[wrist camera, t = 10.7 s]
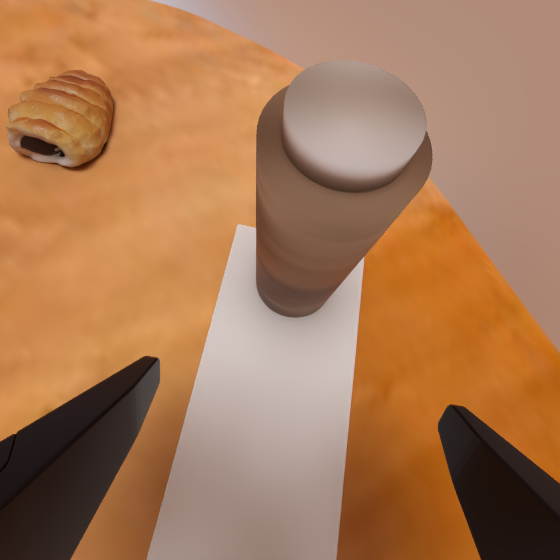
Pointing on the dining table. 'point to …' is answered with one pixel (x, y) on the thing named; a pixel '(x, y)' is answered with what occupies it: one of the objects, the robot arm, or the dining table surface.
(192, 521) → the grey board
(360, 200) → the pepper mill
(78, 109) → the pastry
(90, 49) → the dining table surface
